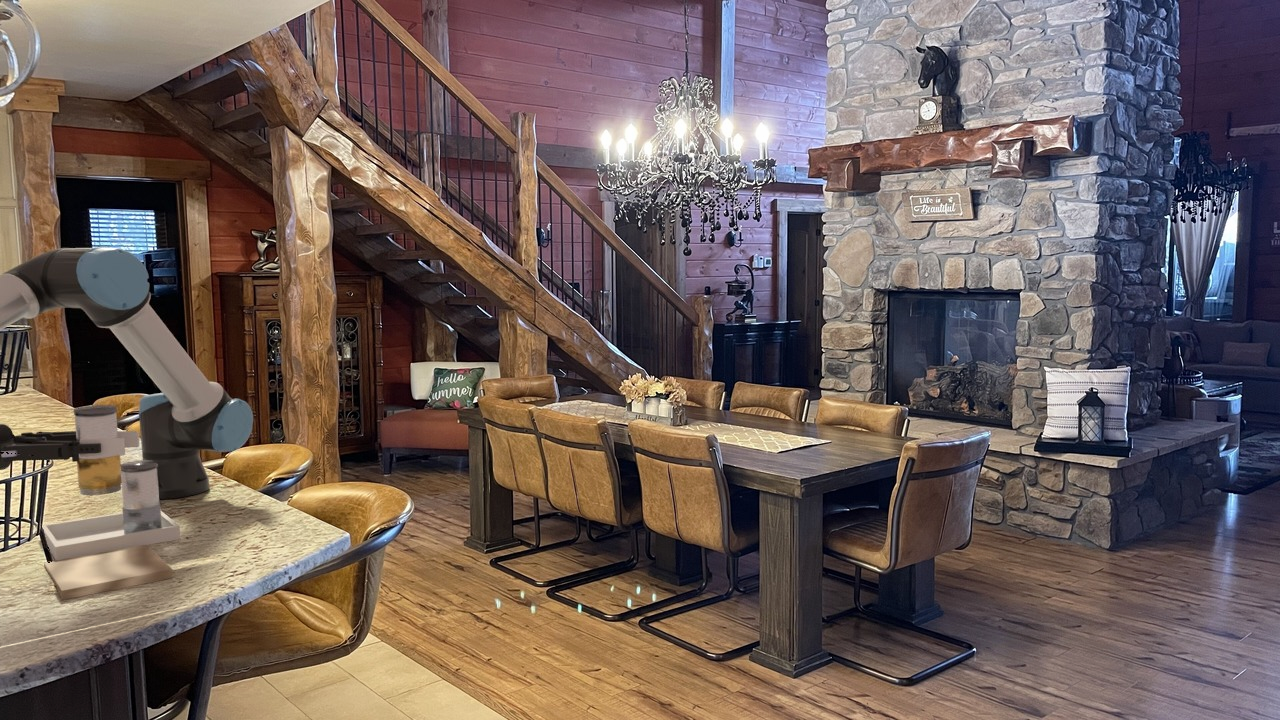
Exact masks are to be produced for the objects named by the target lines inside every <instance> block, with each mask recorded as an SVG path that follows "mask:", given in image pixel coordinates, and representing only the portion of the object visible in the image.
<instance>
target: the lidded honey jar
mask: <svg viewBox="0 0 1280 720" xmlns="http://www.w3.org/2000/svg"><path fill="white" fill-rule="evenodd" d="M117 412H118V407H117V405H115V404H114V405H112V404H111V405H110V404H103V405H102V404H100V405H98V404H97V405H96V404H95V405H87V406H79V407H75V408H74V409H73V415H74V424H75V426H74V427H75V431H76V441H78V444H80V440H81V439H107V438H118V419H117V416H118V415H117ZM121 464H122V463H121V455H112V456H84V457H81V454H79V461H77V462H76V467H77V480H78V481H77V482H78V489H79V493H80V495H83V496H101V495H110V494H113V493H117V492H119V491H122V477H121Z"/></svg>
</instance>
